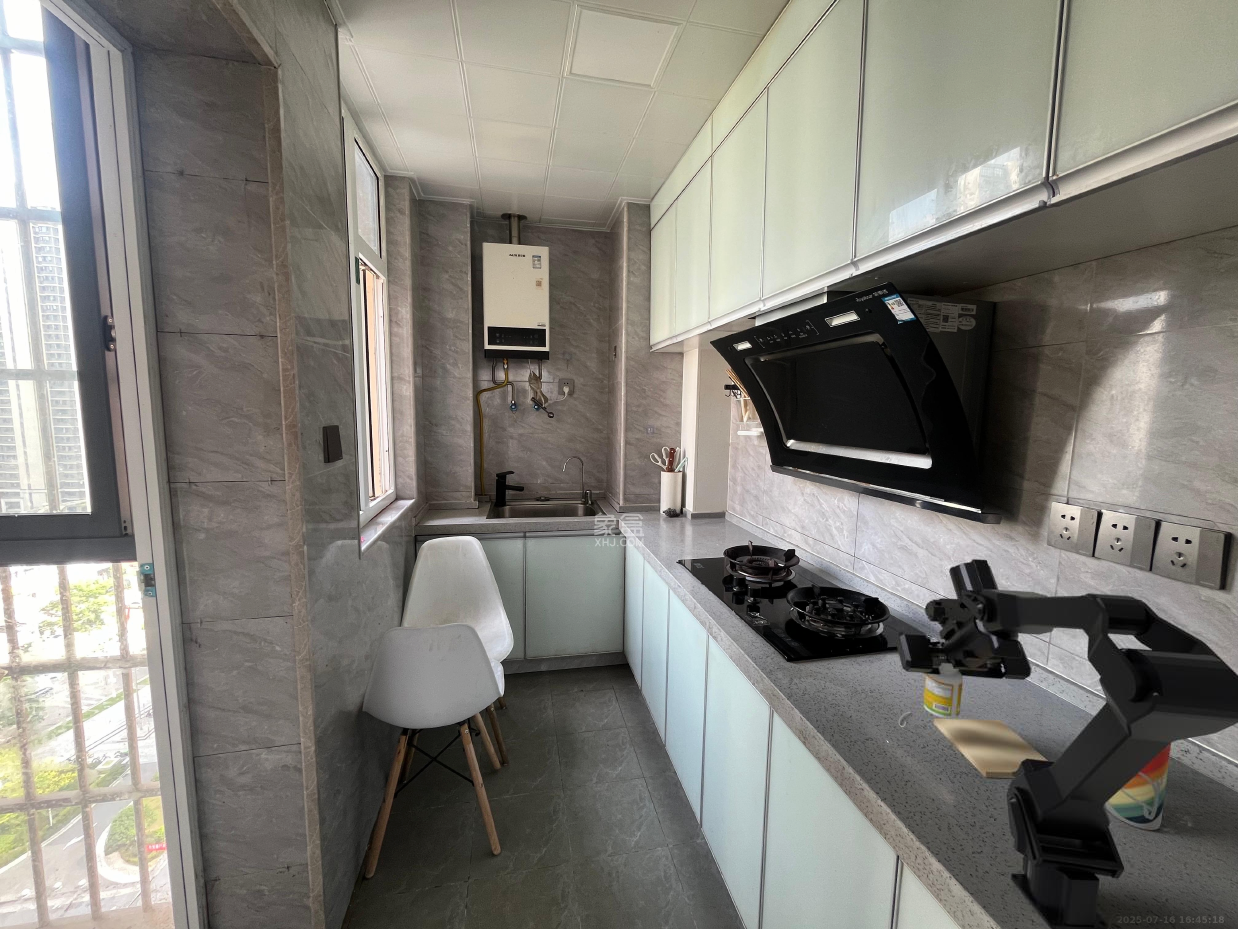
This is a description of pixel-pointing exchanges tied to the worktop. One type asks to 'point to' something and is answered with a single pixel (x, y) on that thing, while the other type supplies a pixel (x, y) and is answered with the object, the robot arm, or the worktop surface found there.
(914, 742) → the worktop surface
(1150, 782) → the lotion bottle
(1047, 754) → the worktop surface
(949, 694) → the supplement bottle
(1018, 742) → the oak board
